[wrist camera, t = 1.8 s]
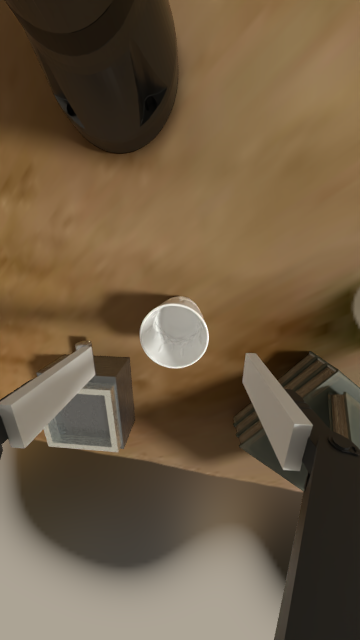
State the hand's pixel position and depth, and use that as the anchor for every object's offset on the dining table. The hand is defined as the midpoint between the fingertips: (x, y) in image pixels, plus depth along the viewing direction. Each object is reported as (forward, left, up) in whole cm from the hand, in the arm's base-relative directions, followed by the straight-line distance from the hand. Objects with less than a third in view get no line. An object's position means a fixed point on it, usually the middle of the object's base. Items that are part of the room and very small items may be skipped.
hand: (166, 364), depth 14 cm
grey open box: (+14, -16, -15) cm, 26 cm away
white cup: (0, 0, -15) cm, 15 cm away
